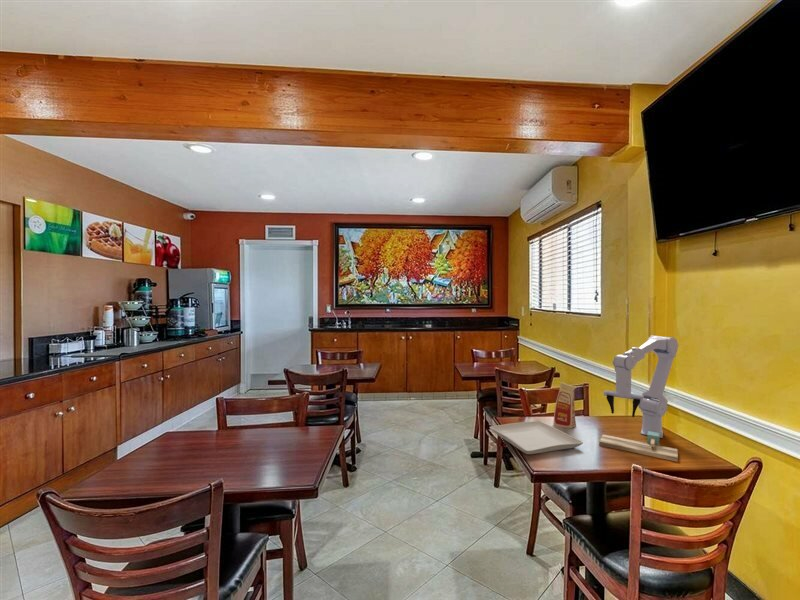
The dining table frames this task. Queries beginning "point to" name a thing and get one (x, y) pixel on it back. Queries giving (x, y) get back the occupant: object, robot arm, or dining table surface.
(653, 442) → the tan post teal base
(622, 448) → the board
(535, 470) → the dining table surface
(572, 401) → the milk carton
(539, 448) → the square plate
